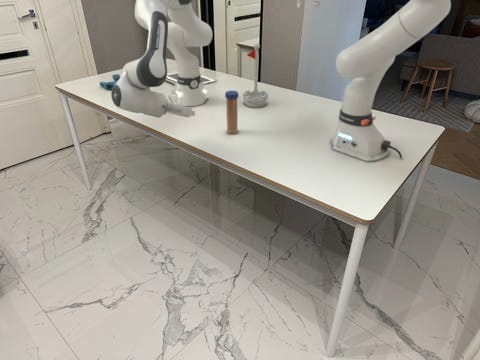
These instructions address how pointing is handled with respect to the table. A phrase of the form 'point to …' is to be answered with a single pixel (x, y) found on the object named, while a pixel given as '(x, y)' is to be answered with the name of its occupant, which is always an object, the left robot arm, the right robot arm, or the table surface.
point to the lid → (231, 94)
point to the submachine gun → (110, 84)
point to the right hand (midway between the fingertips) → (308, 6)
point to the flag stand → (255, 85)
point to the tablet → (203, 79)
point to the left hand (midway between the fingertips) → (186, 111)
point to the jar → (231, 115)
